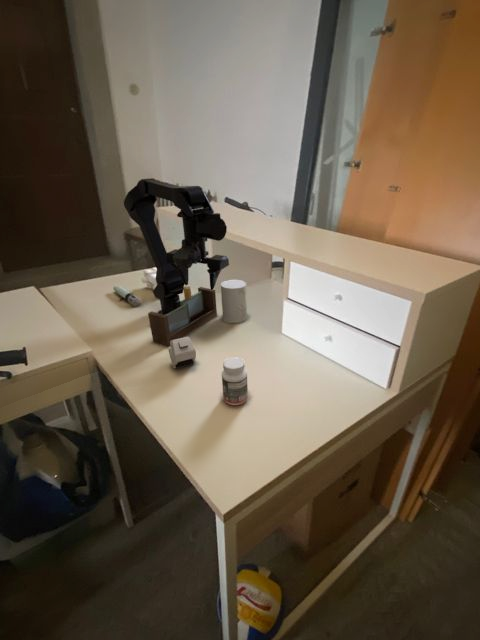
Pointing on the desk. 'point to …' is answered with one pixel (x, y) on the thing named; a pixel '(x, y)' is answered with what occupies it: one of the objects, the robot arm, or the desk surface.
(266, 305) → the desk surface
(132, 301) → the flashlight
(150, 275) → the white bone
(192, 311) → the sash
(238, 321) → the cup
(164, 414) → the desk surface
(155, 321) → the brown book rack
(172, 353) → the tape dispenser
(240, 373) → the pill bottle
